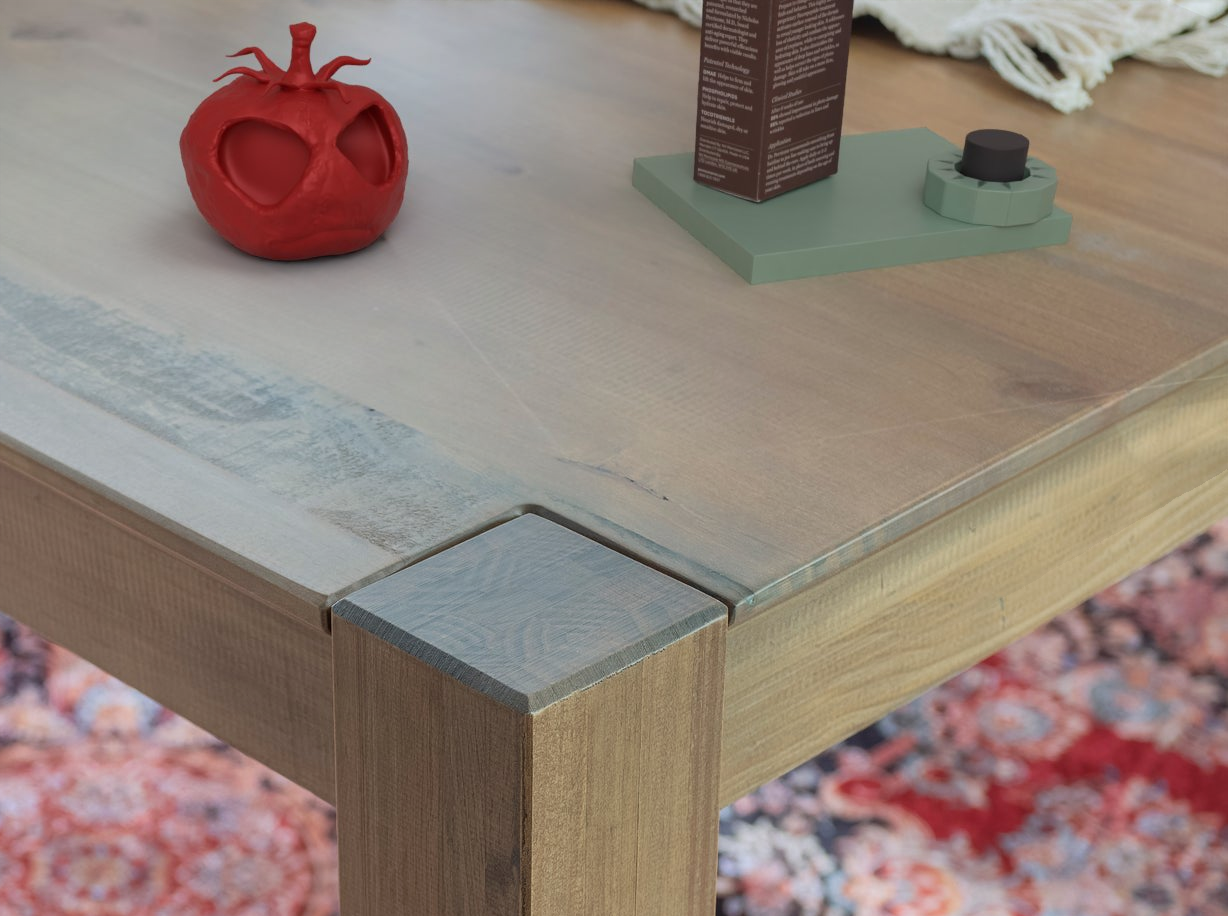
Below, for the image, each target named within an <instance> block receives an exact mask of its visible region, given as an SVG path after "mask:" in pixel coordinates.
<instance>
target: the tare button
mask: <svg viewBox="0 0 1228 916" xmlns="http://www.w3.org/2000/svg"><path fill="white" fill-rule="evenodd" d="M963 149H964V151H963V157H962V163H961V169H960V174H962V175H963V176H966V177H970V178H973V179H977V180H981V181H987V182H1001V183H1007V182H1016V181H1022V180H1023V176H1024V171H1025V165H1026V160H1027V155H1029V149H1030V139H1029V138H1028V137H1026V136H1025V135H1023V134H1021V133H1018V132H1015V131H1010V130H1005V129H999V128H986V129H985V128H982V129H976V130H973V131H970V132H968V133H967V134H966V135H965V139H964V145H963Z"/></svg>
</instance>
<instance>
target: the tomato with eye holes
mask: <svg viewBox="0 0 1228 916" xmlns="http://www.w3.org/2000/svg"><path fill="white" fill-rule="evenodd" d="M288 29H289V34H290V37H291V55H290V62H289V66H288V68H287V70H286V71H285V70H283V69H282V68H280V67H279V66H278V65H277V64H276V63H275V62H274V61H273V60H271V59H270V58H269V57H268V56H267V55H266V54H265V52H264V51H263V49H261V48H259V47H258V46H246V47H244V48H243V49H241V50H239V51H237V52H236V53H234V54H230V55H227V54H226V55H225V58H237V57H242V56H247V55H250V54H254V57H255V58H256V60H257V61H258V63H259V65H260V67H261V69H260V70H256V69H253V68H250V67H248V66H236V67H234V68H231V69H228V70H227V71H225V72H224V73H222V74H221V75H220V76H218V77H217V78H215V79H212V82H213V83H217V82H219V81H221V80H223V79H224V78H226V77H228V76H230V75H239V74H240V75H239V76H237V77H236V78H235V79H233V80H232V81H230V83H228V84H225V85H223V86H222V87H219V88H218V89H216V90H215V91H213V93H211V94H209V96H207V97H206V98H204V99H203V100H202V101H201V103H200V104H198V106H197V107H196V108H195V109H194V111H193V113H191V115H190V116H189V119H188V121H187V123H186V125H185V127H184V128H183V129H182V131H181V134H180V137H179V141H178V145H179V150H180V151H179V152H180V158H181V162H182V167H183V170H184V173H185V179H186V183H187V186H188V188H189V190H190V195H191V197H192V200H193V201H194V203H195V206H196V208H197V209H198V212H199V213H200V214H201V216H202V217H203V218H204V219H205V221H206V223H207V224H208V225H209V226H210V227H211V228H212V229H214V230H215V231H216V232H217V233H218V235H219V236H220V237H221V238H222V239H224V240H225V241H226V242H228V243H230V244H231V245H233V246H234V247H236V248H237V249H239V250H241V251H243V252H245V253H247V254H249V255H251V256H254V257H259V258H264V259H267V260H268V259H269V260H272V261H273V260H274V261H299V260H308V259H313V258H318V257H319V258H320V257H324V256H327V257H328V256H333V255H334V256H336V255H346V254H347V253H352V252H356V251H359V250H361V249H363V248H366V247H368V246H369V245H371V244H372V243H373V242H375V241H376V239H378V238H379V237H380V236H381V235H382V234H384V232H385V231H386V230H387V229H388V228H389V227H390V226H391V224H392V223H393V222H394V221H395V219H396V218H397V216H398V215H399V212H400V209H401V207H402V205H403V202H404V198H405V191H406V184H407V178H408V174H409V163H410V160H409V146H408V145H409V144H408V140H407V139H408V138H407V136H406V135H407V134H406V132H405V129H404V126H403V124H402V123H403V122H402V120H401V118H400V116H399V113H398V112H397V111H396V109H395V107H394V105H393V104H392V103H390V102H389V101H388V100H387V99H386V98H385V97H384V96H383V95H382V94H381V93H379V92H377V91H376V90H374V89H372V88H370V87H368V86H365V85H360V84H348V83H345V82H342V81H339V80H337V79H333V78H332V77H334V75H335V74H336V73H337V72H338V71H339V70H340V69H342V67H345V66H358V67H360V66H361V67H363V66H368V65H369V64H370V63H371V62H372V57H370V58H369V59H360V58H355V57H353V56H350V55H339V56H337V57H335V58H333V59H331V60H330V61H329V62H327V63H325V64H323V65H322V66H321V67H320V68H319V69H318V71H317V72H316V73H314V69H313V66H312V61H311V49H312V44H313V42H314V40H315V38H316V36H317V26H316V25H315V24H312V23H309V22H307V21H302V22H298V23H293V24H289V25H288Z"/></svg>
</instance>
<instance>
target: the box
mask: <svg viewBox="0 0 1228 916" xmlns="http://www.w3.org/2000/svg"><path fill="white" fill-rule="evenodd" d="M854 5H855V0H702V5H701V6H702V7H701V8H702V9H701V26H700V27H701V28H700V30H701V31H700V45H699V46H700V47H699V65H698V66H699V67H698V68H699V69H698V83H697V99H696V100H697V103H696V104H697V105H696V120H695V121H696V122H695V123H696V124H695V142H694V152H695V157H694V176H693V180H694V181H696V182H698V183H700V184H701V185H704V186H707V187H710V188H713V189H716V190H719V191H721V192H724V193H726V194H730V195H733V196H735V197H738V198H740V199H746V200H748V201H754V202H761V201H764V200H766V199H768V198H771V197H773V196H776V195H778V194H781V193H783V192H786V191H789V190H792V189H794V188H797V187H799V186H802V185H805V184H807V183H810V182H813V181H815V180H818V179H821V178H823V177H827V176H829V175H833V174H836V173H837V172H838V161H839V149H840V139H841V136H842V130H843V118H844V107H845V100H846V99H845V98H846V97H845V96H846V86H847V76H848V66H849V56H850V46H851V45H850V44H851V38H852V37H851V36H852V35H851V34H852V25H853V16H854V13H853V12H854Z"/></svg>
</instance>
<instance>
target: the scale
mask: <svg viewBox="0 0 1228 916" xmlns="http://www.w3.org/2000/svg"><path fill="white" fill-rule="evenodd" d="M963 151H964V148H961V147H960V146H958V145H956V144H954V143H953V142H952V141H950V140H948V139H947V138H945V137H943V136H942V135H940V134H938V133H937V132H935V131H933V130H932V129H930V128H928V127H926V126H921V127H912V128H911V127H910V128H902V129H893V130H884V131H876V132H875V131H874V132H866V133H856V134H847V135H841V139H840V149H839V161H838V172H837V173H836V174H833V175H829V176H827V177H823V178H821V179H818V180H815V181H813V182H810V183H807V184H805V185H802V186H799V187H797V188H794V189H792V190H789V191H786V192H783V193H781V194H778V195H776V196H773V197H771V198H768V199H766V200H764V201H761V202H754V201H748V200H746V199H740V198H738V197H735V196H733V195H730V194H726V193H724V192H721V191H719V190H716V189H713V188H710V187H707V186H704V185H701V184H700V183H698V182H696V181H694V180H693V176H694V157H695V151H690V152H681V153H671V154H663V155H662V154H661V155H654V156H653V155H652V156H644V157H643V156H642V157H635V158H633V164H632V178H631V179H632V182H631V186H632V187H633V188H634V189H636V190H637V191H638V192H639V193H641V194H642V195H643V196H644V197H645V198H646V199H647V200H648V201H650V202H651V203H653V205H655V206H656V207H657V208H658V209H659V210H660V211H662V212H663V213H664V214H665V215H667V216H668V217H669V218H671V219H672V221H674V222H675V223H676V224H677V225H679V226H680V227H681V228H682V229H683V230H685V231H686V232H687V233H688V234H689V235H690V236H692V237H693V238H694V239H695V240H696V241H698V242H699V243H700V244H701V245H702V246H703V247H705V248H706V249H707V250H708V251H710V252H711V253H712V254H713V255H714V256H716V257H717V258H718V259H720V261H721V262H722V263H724V264H725V265H726V266H727V267H729V268H730V269H731V270H732V271H733V272H735V274H737V275H738V276H740V278H742V279H743V280H744V281H745V282H746V283H748V284H749V285H750V286H756V285H763V284H771V283H780V282H786V281H787V282H788V281H794V280H801V279H807V278H808V279H810V278H817V277H825V276H831V275H833V276H834V275H837V274H838V275H839V274H848V273H855V272H863V271H869V270H871V271H872V270H879V269H884V268H893V267H900V266H909V265H916V264H923V263H931V262H939V261H946V260H953V259H954V260H955V259H961V258H970V257H978V256H983V255H984V256H985V255H992V254H999V253H1008V252H1015V251H1023V250H1031V249H1039V248H1045V247H1054V246H1060V245H1068V244H1069V239H1070V235H1071V234H1070V233H1071V229H1072V225H1073V219H1074V215H1073V214H1072V213H1069V212H1068V211H1066V210H1064V209H1063V208H1061V207H1059V206H1058V205H1056V204H1055V202H1054V201H1055V198H1056V193H1057V186H1058V182H1059V178H1058V173H1057V169H1056V168H1055V167H1054V166H1052V165H1050V164H1048V163H1047V162H1045V161H1043V160H1042V159H1041V158H1038V157H1035V156H1032V155H1029V154H1027V160H1026V165H1025V171H1024V176H1023V180H1022V181H1016V182H1007V183H1001V182H987V181H981V180H977V179H973V178H970V177H966V176H963V175H962V174H960V169H961V163H962V157H963Z"/></svg>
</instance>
